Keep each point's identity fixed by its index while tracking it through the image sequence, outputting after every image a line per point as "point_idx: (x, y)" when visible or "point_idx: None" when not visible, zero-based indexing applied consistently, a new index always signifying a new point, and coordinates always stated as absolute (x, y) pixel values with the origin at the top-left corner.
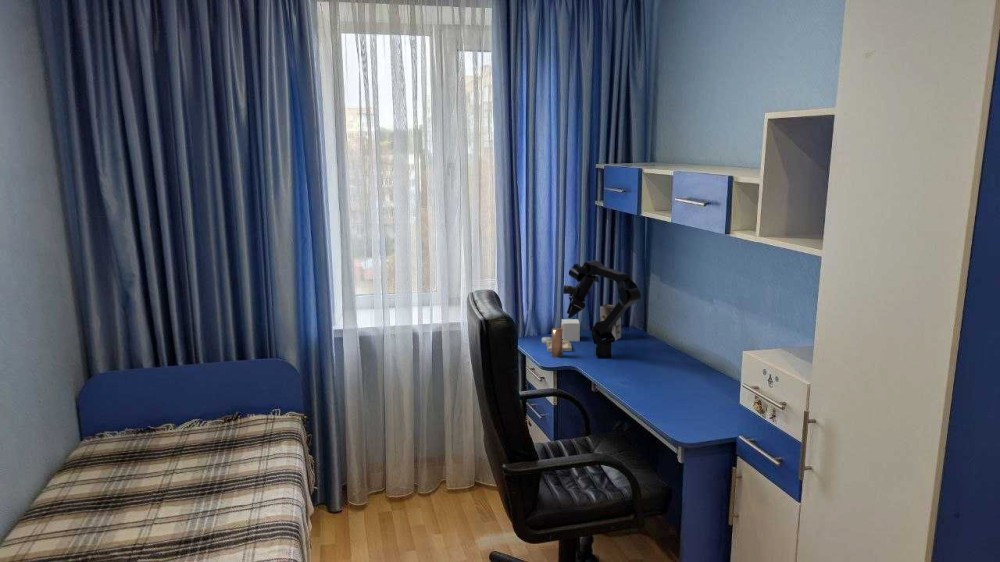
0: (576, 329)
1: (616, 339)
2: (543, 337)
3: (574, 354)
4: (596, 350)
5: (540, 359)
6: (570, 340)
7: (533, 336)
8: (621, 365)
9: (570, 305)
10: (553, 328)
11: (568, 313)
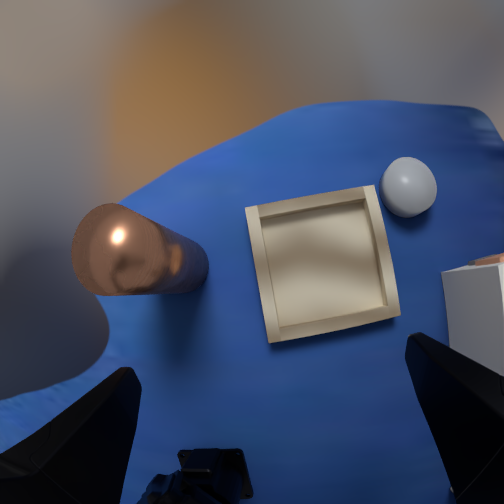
0: (483, 350)
1: (452, 490)
2: (421, 165)
3: (221, 353)
4: (185, 462)
5: (129, 196)
6: (448, 311)
7: (470, 130)
8: (124, 500)
9: (477, 417)
10: (127, 213)
11: (406, 355)
